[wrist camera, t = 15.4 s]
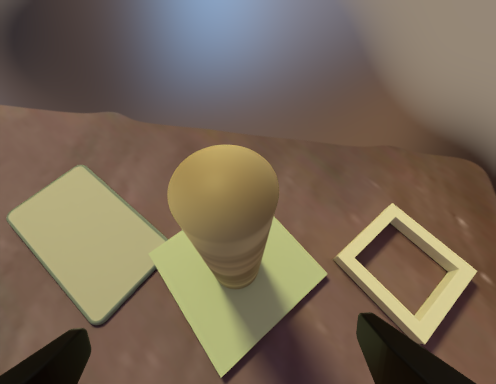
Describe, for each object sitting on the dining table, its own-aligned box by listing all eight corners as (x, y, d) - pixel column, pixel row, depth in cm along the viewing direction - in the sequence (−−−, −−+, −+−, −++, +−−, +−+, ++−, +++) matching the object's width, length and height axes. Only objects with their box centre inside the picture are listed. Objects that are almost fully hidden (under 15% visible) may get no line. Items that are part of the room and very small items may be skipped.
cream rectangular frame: (414, 343, 17) (425, 344, 16) (332, 259, 20) (337, 255, 19) (465, 273, 20) (477, 271, 19) (385, 208, 23) (392, 203, 22)
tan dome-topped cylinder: (250, 296, 18) (259, 259, 7) (205, 279, 19) (145, 218, 8) (265, 249, 20) (290, 160, 9) (223, 235, 21) (197, 134, 9)
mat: (221, 376, 16) (220, 377, 16) (150, 255, 20) (148, 253, 20) (325, 274, 20) (327, 273, 19) (246, 189, 24) (246, 186, 23)
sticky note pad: (94, 331, 17) (1, 216, 22) (101, 330, 18) (10, 220, 22) (176, 246, 21) (81, 161, 25) (179, 249, 21) (86, 166, 26)
